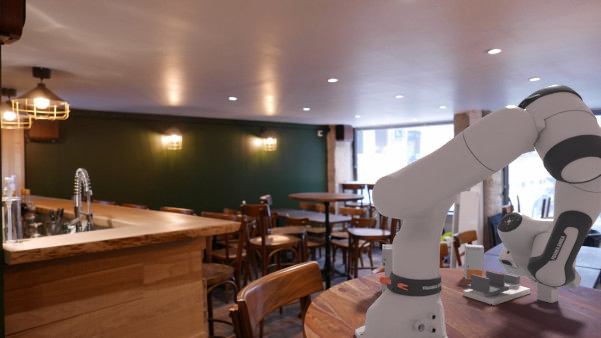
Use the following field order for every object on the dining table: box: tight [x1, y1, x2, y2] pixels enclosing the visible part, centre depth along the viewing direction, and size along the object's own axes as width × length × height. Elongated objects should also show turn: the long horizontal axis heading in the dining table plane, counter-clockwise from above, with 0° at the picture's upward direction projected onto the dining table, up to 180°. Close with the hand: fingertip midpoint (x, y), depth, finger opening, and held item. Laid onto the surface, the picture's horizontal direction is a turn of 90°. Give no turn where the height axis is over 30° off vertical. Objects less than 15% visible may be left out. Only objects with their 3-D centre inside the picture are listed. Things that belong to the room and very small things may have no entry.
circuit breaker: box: [381, 243, 393, 295], centre depth 120 cm, size 8×14×15 cm, turn 78°
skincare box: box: [463, 243, 485, 281], centre depth 137 cm, size 6×4×12 cm
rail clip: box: [466, 270, 521, 297], centre depth 121 cm, size 20×8×6 cm, turn 122°
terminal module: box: [536, 281, 559, 304], centre depth 115 cm, size 4×4×8 cm
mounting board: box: [462, 285, 531, 306], centre depth 121 cm, size 20×10×2 cm, turn 122°
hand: (547, 285), depth 116 cm, fingers closed on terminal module, 4 cm apart
